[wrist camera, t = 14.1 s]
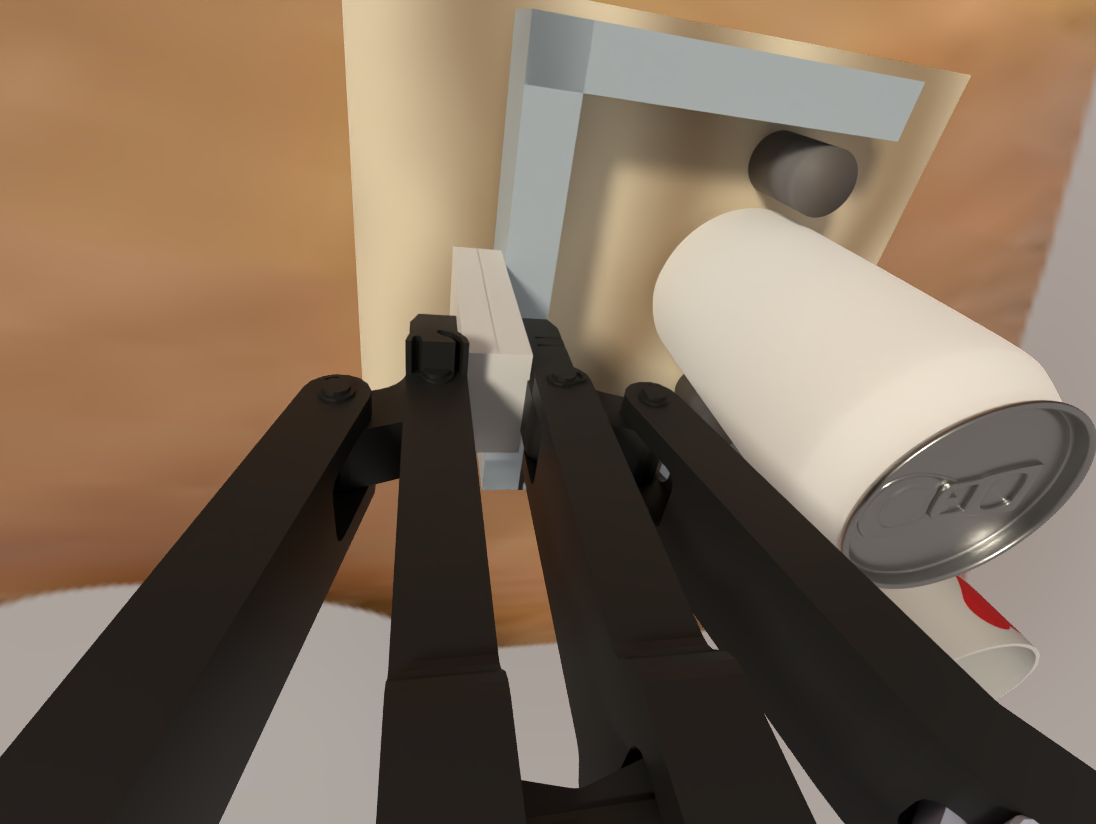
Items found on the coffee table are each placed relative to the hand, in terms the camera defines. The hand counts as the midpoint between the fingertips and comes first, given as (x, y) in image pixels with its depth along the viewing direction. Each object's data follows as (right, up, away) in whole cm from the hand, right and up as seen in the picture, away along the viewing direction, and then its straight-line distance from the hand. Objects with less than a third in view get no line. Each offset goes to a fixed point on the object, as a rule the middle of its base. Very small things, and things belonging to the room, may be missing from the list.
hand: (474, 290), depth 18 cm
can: (+9, +1, +4) cm, 10 cm away
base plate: (+5, +2, +4) cm, 7 cm away
